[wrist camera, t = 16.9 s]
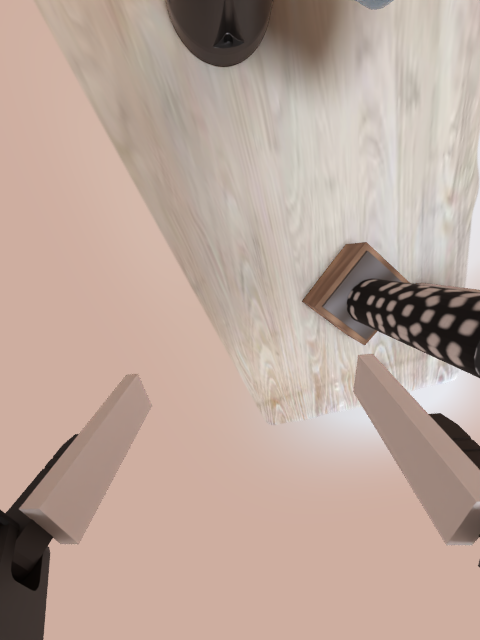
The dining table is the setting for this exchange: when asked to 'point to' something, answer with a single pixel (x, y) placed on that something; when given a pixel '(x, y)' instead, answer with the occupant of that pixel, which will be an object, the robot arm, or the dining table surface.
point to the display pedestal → (349, 287)
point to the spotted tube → (422, 318)
